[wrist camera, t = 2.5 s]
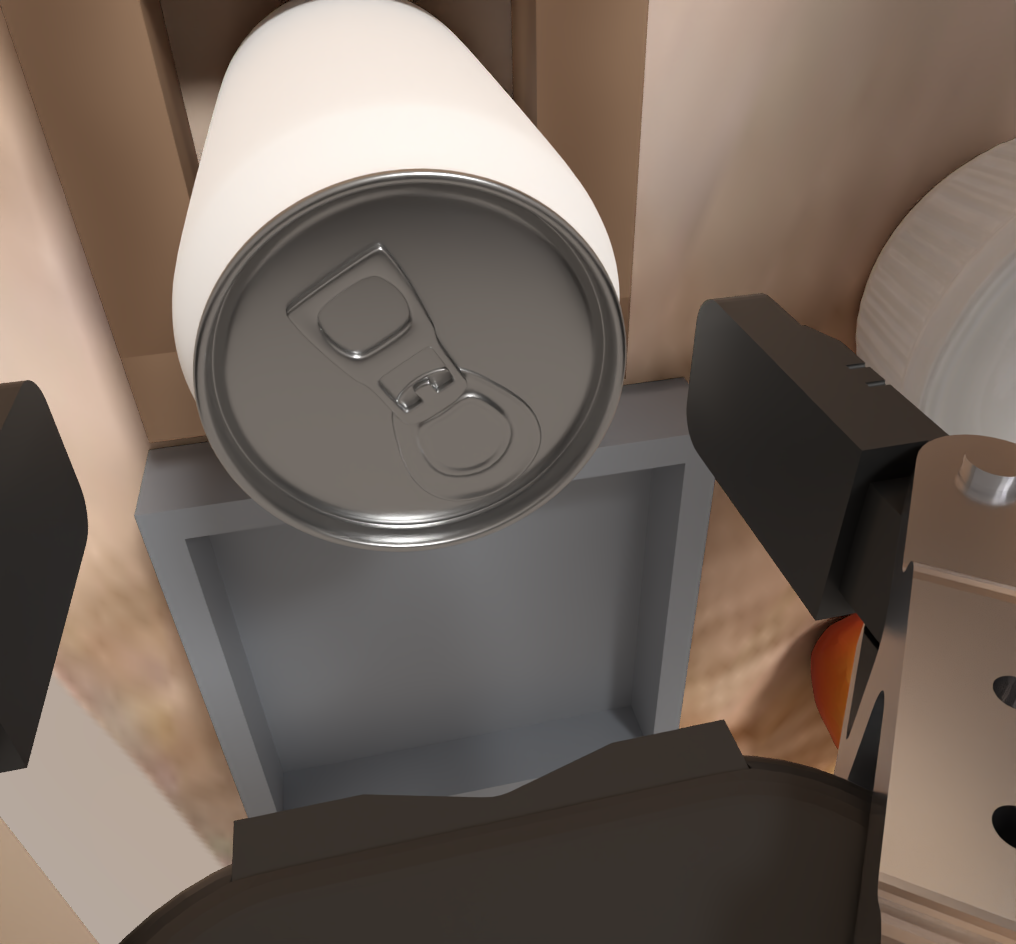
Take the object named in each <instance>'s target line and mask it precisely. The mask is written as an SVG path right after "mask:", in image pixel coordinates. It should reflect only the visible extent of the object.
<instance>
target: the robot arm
mask: <svg viewBox="0 0 1016 944" xmlns="http://www.w3.org/2000/svg"><path fill="white" fill-rule="evenodd" d="M686 415H687V425H688V431H689V435H690V438H691V441H692V444H693V446H694V448H695V450H696V452H697V453H698V455H699V456H700V457H701V459H702V460H703V462H704V463H705V465H706V466H707V467H708V469H709V470H710V472H711V473H712V474H713V476H714V477H715V479H716V480H717V482H718V483H719V484H720V486H721V487H722V489H723V490H724V491H725V493H726V494H727V496H728V497H729V499H730V500H731V501H732V503H733V504H734V506H735V507H736V508H737V510H738V511H739V513H740V514H741V516H742V517H743V518H744V520H745V521H746V523H747V524H748V525H749V527H750V528H751V530H752V531H753V533H754V534H755V535H756V537H757V538H758V540H759V541H760V542H761V544H762V545H763V547H764V548H765V550H766V551H767V552H768V554H769V555H770V557H771V558H772V559H773V561H774V562H775V564H776V565H777V567H778V568H779V569H780V571H781V572H782V574H783V575H784V576H785V578H786V579H787V581H788V582H789V584H790V585H791V586H792V588H793V589H794V591H795V592H796V593H797V595H798V596H799V598H800V599H801V601H802V602H803V603H804V605H805V606H806V608H807V609H808V610H809V612H810V613H811V615H812V616H813V618H814V619H815V620H822V619H827V618H832V617H837V616H843V615H848V614H853V613H857V615H858V616H859V617H860V619H861V620H862V621H863V623H864V624H863V627H862V630H861V633H860V636H859V639H858V642H857V646H856V652H855V657H854V663H853V669H852V675H851V680H850V686H849V692H848V698H847V703H846V709H845V715H844V721H843V726H842V732H841V738H840V744H839V749H838V755H837V761H836V766H835V770H834V775H833V774H830V773H827V772H824V771H821V770H819V769H816V768H813V767H809V766H805V765H801V764H797V763H793V762H789V761H785V760H779V759H772V758H765V757H758V756H743V755H742V753H741V751H740V749H739V748H738V746H737V744H736V742H735V740H734V738H733V736H732V734H731V732H730V730H729V728H728V726H727V725H726V723H725V721H724V720H719V721H715V722H710V723H705V724H700V725H695V726H690V727H686V728H681V729H676V730H671V731H666V732H661V733H657V734H652V735H647V736H642V737H637V738H632V739H628V740H623V741H618V742H613V743H610V744H608V745H606V746H604V747H602V748H600V749H598V750H596V751H594V752H592V753H590V754H588V755H585V756H583V757H581V758H579V759H577V760H575V761H573V762H571V763H569V764H567V765H565V766H563V767H560V768H558V769H556V770H554V771H552V772H550V773H548V774H546V775H544V776H542V777H540V778H538V779H535V780H533V781H531V782H529V783H527V784H525V785H523V786H521V787H519V788H517V789H515V790H513V791H511V792H508V793H505V794H503V795H499V796H494V797H453V796H412V795H372V794H362V795H357V796H353V797H348V798H343V799H338V800H333V801H328V802H324V803H319V804H314V805H309V806H304V807H299V808H295V809H290V810H285V811H280V812H275V813H270V814H266V815H261V816H256V817H251V818H246V819H241V820H237V821H234V834H233V860H232V864H231V865H229V866H227V867H225V868H222V869H220V870H218V871H216V872H214V873H212V874H210V875H209V876H207V877H205V878H204V879H202V880H200V881H199V882H197V883H195V884H194V885H192V886H190V887H189V888H187V889H185V890H184V891H182V892H181V893H179V894H178V895H176V896H175V897H174V898H172V899H171V900H170V901H168V902H167V903H166V904H164V905H163V906H162V907H161V908H159V909H157V910H156V911H155V912H153V913H152V914H151V915H150V916H149V917H148V918H146V919H145V920H144V921H143V922H142V923H141V924H140V925H139V926H137V927H136V928H135V929H134V930H133V931H132V932H131V933H130V934H128V935H127V936H126V937H125V938H124V939H123V940H122V941H121V942H120V943H119V944H1016V443H1012V442H1009V441H1006V440H1002V439H998V438H994V437H988V436H982V435H970V434H961V435H948V434H947V433H946V432H945V431H944V430H942V429H941V428H940V427H939V426H938V425H937V424H936V423H934V422H933V421H932V420H931V419H930V418H929V417H927V416H926V415H925V414H924V413H923V412H922V411H921V410H919V409H918V408H917V407H916V406H915V405H914V404H912V403H911V402H910V401H909V400H908V399H907V398H906V397H904V396H903V395H902V394H901V393H900V392H899V391H897V390H896V389H895V388H894V387H893V386H892V385H890V384H889V385H886V384H885V379H884V378H882V377H881V376H880V375H879V374H878V373H877V372H875V371H874V370H873V369H872V368H871V367H865V362H864V361H863V360H862V359H860V358H859V357H858V356H857V355H856V354H855V353H853V352H852V351H851V350H850V349H849V348H848V347H847V346H845V345H844V344H843V343H842V342H841V341H838V340H836V339H834V338H832V337H830V336H827V335H825V334H823V333H821V332H819V331H816V330H814V329H812V328H810V327H808V326H806V325H804V326H801V325H800V324H799V323H798V322H797V321H796V320H795V319H794V318H793V317H791V316H790V315H789V314H788V313H787V312H786V311H785V310H784V309H783V308H781V307H780V306H779V305H778V304H777V303H776V302H775V301H774V300H772V299H771V298H770V297H769V296H768V295H766V294H763V293H760V294H751V295H743V296H735V297H726V298H718V299H710V300H707V301H705V302H704V303H703V304H702V306H701V308H700V310H699V313H698V316H697V322H696V331H695V339H694V347H693V355H692V364H691V372H690V380H689V389H688V397H687V407H686ZM87 535H88V519H87V510H86V505H85V500H84V496H83V493H82V490H81V487H80V485H79V482H78V479H77V477H76V474H75V472H74V469H73V467H72V464H71V462H70V459H69V457H68V454H67V452H66V449H65V447H64V444H63V442H62V439H61V437H60V434H59V432H58V429H57V427H56V424H55V422H54V419H53V417H52V414H51V412H50V409H49V407H48V404H47V402H46V399H45V397H44V395H43V393H42V392H41V390H40V389H39V387H38V386H37V385H36V384H35V383H34V382H32V381H30V380H27V381H18V382H10V383H2V384H0V773H1V772H7V771H12V770H18V769H22V768H27V765H28V762H29V758H30V754H31V750H32V746H33V743H34V739H35V735H36V731H37V727H38V723H39V719H40V716H41V712H42V708H43V705H44V701H45V697H46V693H47V690H48V686H49V682H50V678H51V675H52V671H53V667H54V663H55V660H56V656H57V652H58V648H59V644H60V641H61V637H62V633H63V629H64V626H65V622H66V618H67V614H68V610H69V607H70V603H71V599H72V595H73V591H74V588H75V584H76V580H77V576H78V573H79V569H80V565H81V561H82V557H83V554H84V550H85V546H86V542H87ZM0 944H99V943H98V942H97V940H96V939H95V938H94V937H93V935H92V934H91V933H90V931H89V930H88V929H87V928H86V926H85V925H84V924H83V922H82V921H81V920H80V919H79V917H78V916H77V915H76V913H75V912H74V911H73V910H72V908H71V907H70V906H69V904H68V903H67V902H66V901H65V899H64V898H63V897H62V895H61V894H60V893H59V892H58V891H57V889H56V888H55V886H54V885H53V884H52V883H51V881H50V880H49V879H48V877H47V876H46V875H45V874H44V872H43V871H42V870H41V868H40V867H39V866H38V865H37V863H36V862H35V861H34V859H33V858H32V857H31V856H30V854H29V853H28V852H27V850H26V849H25V848H24V847H23V845H22V844H21V843H20V841H19V840H18V839H17V837H16V836H15V835H14V834H13V832H12V831H11V830H10V828H9V827H8V826H7V825H6V823H5V822H4V821H3V819H1V817H0Z"/></svg>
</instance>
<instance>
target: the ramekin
mask: <svg viewBox="0 0 1016 944" xmlns="http://www.w3.org/2000/svg"><path fill="white" fill-rule="evenodd" d="M856 344H857V345H856V355H857V356H858V357H859V358H860V359H862V360H863V361H864V362H865V367H871V368H872V369H873V370H874V371H875V372H877V373H878V374H879V375H880V376H881V377H882V378H884V379H885V384H886V385H889V384H890V385H892V386H893V387H894V388H895V389H896V390H897V391H899V392H900V393H901V394H902V395H903V396H904V397H906V398H907V399H908V400H909V401H910V402H911V403H912V404H914V405H915V406H916V407H917V408H918V409H919V410H921V411H922V412H923V413H924V414H925V415H926V416H927V417H929V418H930V419H931V420H932V421H933V422H934V423H936V424H937V425H938V426H939V427H940V428H941V429H942V430H944V431H945V432H946V433H947V434H948V435H961V434H970V435H982V436H988V437H994V438H998V439H1002V440H1006V441H1009V442H1012V443H1016V138H1015V139H1012V140H1010V141H1008V142H1004V143H1001V144H999V145H997V146H995V147H993V148H992V149H990V150H988V151H986V152H984V153H982V154H981V155H979V156H977V157H975V158H974V159H972V160H971V161H969V162H967V163H966V164H964V165H963V166H961V167H960V168H958V169H957V170H955V171H954V172H953V173H951V174H950V175H948V176H947V177H946V178H944V179H943V180H942V181H941V182H940V183H938V184H937V185H936V186H935V187H934V188H933V189H931V190H930V191H929V192H928V193H927V194H926V195H925V196H924V197H923V198H922V199H921V200H920V201H919V202H918V203H917V204H916V205H915V206H914V208H913V209H912V210H911V211H910V212H909V213H908V214H907V215H906V216H905V218H904V219H903V220H902V222H901V223H900V224H899V225H898V227H897V228H896V229H895V231H894V232H893V234H892V235H891V237H890V238H889V240H888V241H887V243H886V244H885V246H884V248H883V249H882V251H881V253H880V254H879V256H878V258H877V260H876V263H875V265H874V267H873V269H872V271H871V273H870V276H869V278H868V281H867V284H866V287H865V290H864V293H863V297H862V300H861V303H860V311H859V314H858V318H857V329H856Z"/></svg>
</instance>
